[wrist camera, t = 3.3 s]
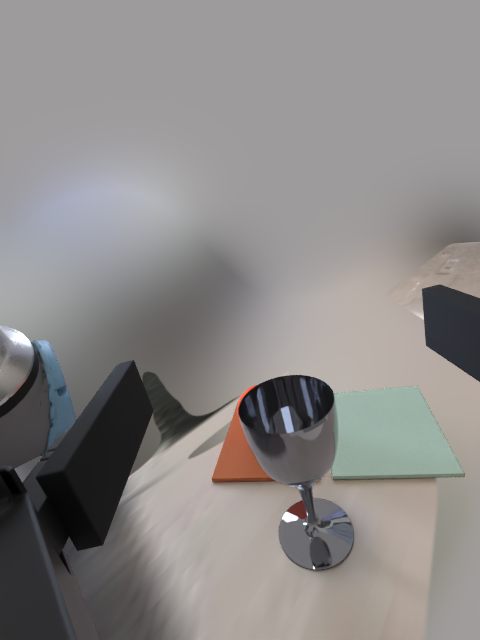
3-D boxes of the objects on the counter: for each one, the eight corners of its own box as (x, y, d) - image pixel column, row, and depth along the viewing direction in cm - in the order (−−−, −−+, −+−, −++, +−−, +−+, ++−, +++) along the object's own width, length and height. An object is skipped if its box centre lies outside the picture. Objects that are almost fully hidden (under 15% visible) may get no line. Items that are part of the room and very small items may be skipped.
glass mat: (332, 479, 36) (332, 476, 36) (326, 396, 51) (326, 393, 51) (464, 477, 33) (464, 473, 33) (417, 388, 47) (417, 385, 47)
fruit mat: (212, 482, 40) (211, 478, 40) (238, 404, 55) (238, 401, 55) (319, 479, 37) (318, 476, 37) (316, 397, 51) (316, 394, 51)
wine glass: (261, 555, 30) (219, 425, 26) (291, 487, 37) (262, 372, 32) (348, 590, 26) (317, 442, 21) (365, 506, 32) (345, 377, 28)
